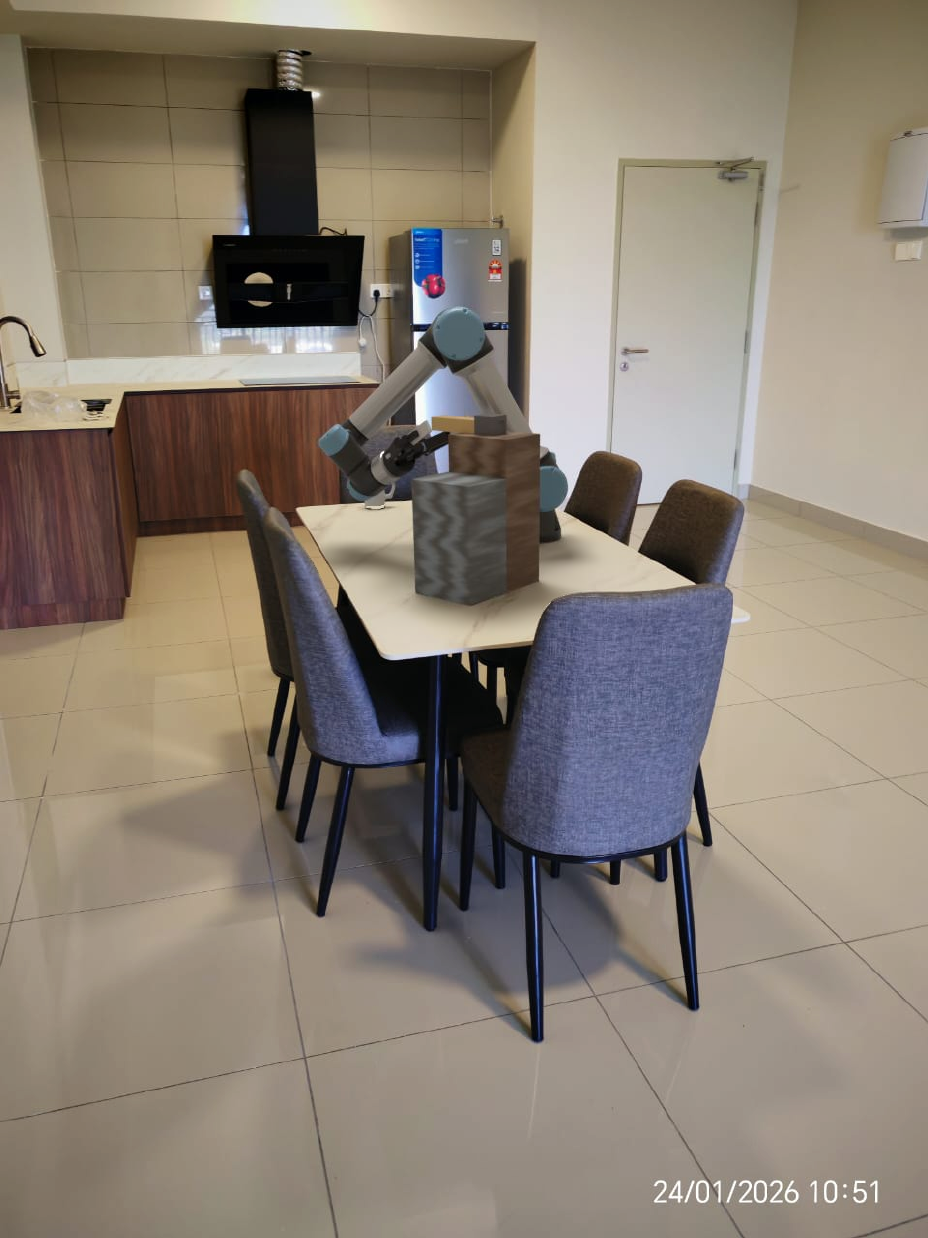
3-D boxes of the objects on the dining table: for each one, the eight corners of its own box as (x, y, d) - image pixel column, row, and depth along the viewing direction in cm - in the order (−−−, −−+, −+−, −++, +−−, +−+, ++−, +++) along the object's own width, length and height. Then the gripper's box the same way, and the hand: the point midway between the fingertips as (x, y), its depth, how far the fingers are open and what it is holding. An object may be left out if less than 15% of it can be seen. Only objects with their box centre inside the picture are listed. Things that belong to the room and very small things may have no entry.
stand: (415, 592, 203) (409, 440, 193) (484, 569, 220) (483, 428, 210) (470, 605, 193) (468, 446, 183) (539, 580, 210) (540, 433, 200)
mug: (364, 510, 290) (362, 472, 286) (364, 506, 296) (362, 468, 292) (396, 509, 290) (394, 471, 287) (395, 505, 297) (394, 467, 293)
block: (430, 430, 209) (429, 412, 208) (445, 428, 213) (444, 410, 212) (492, 435, 198) (492, 416, 197) (506, 433, 202) (506, 414, 200)
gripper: (435, 470, 231) (491, 432, 216) (361, 485, 213) (417, 444, 199) (423, 443, 231) (478, 402, 217) (349, 455, 214) (403, 412, 199)
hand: (449, 422), depth 208 cm, fingers open, 13 cm apart
